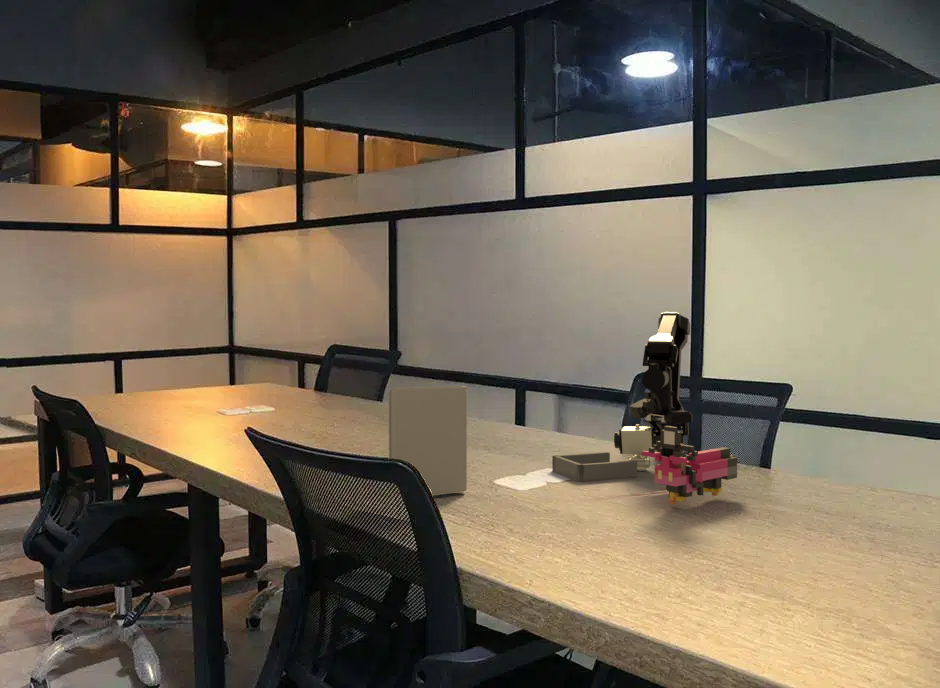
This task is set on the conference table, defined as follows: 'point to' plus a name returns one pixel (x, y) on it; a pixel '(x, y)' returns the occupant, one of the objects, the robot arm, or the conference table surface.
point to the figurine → (690, 467)
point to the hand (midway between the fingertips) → (662, 447)
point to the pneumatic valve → (637, 443)
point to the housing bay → (593, 467)
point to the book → (431, 434)
